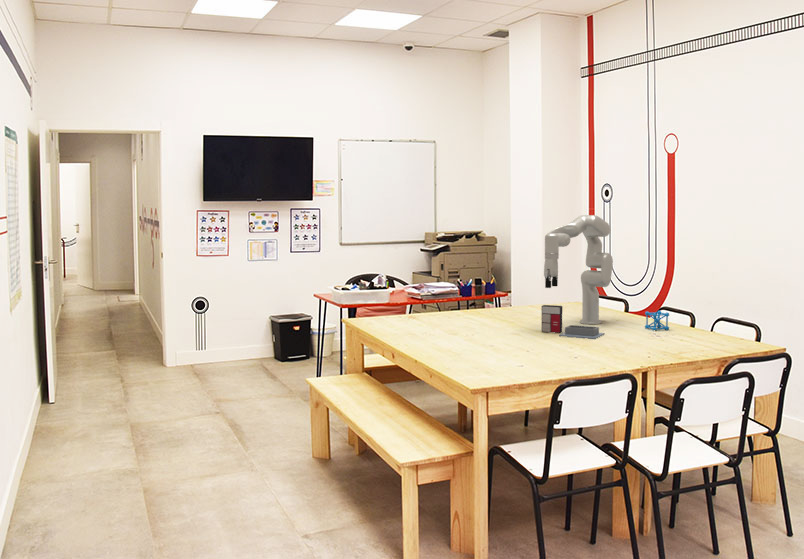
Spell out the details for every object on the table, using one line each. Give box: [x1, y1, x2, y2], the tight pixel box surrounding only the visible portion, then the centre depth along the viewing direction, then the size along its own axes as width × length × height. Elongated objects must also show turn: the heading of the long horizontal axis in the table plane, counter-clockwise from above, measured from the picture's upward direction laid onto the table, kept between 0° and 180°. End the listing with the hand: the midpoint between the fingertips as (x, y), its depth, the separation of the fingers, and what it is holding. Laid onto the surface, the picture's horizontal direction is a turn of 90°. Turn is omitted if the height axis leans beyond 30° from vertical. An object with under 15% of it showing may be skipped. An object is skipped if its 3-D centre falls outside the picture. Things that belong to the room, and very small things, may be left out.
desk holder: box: [558, 324, 605, 340], centre depth 397 cm, size 16×20×4 cm
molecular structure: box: [644, 310, 670, 331], centre depth 411 cm, size 10×10×10 cm
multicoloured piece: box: [541, 304, 563, 334], centre depth 408 cm, size 11×4×15 cm, turn 62°
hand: (551, 287), depth 406 cm, fingers open, 9 cm apart
